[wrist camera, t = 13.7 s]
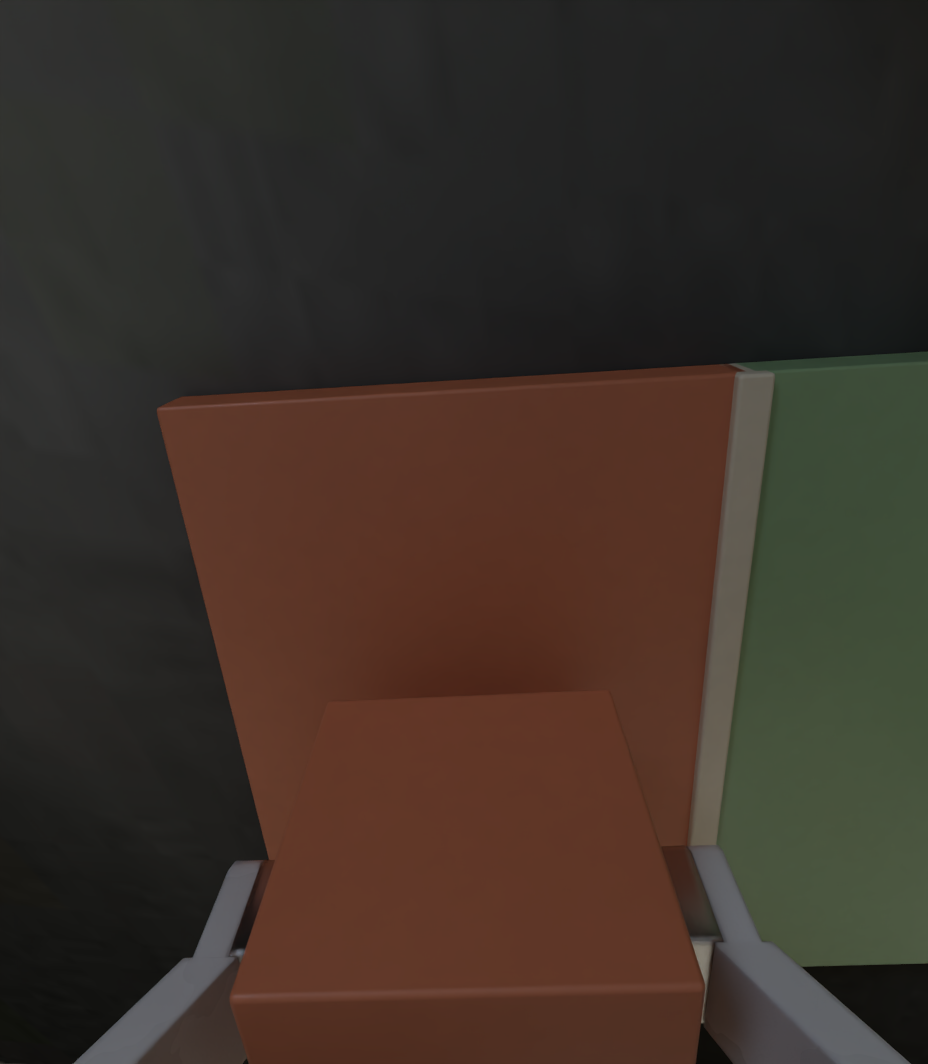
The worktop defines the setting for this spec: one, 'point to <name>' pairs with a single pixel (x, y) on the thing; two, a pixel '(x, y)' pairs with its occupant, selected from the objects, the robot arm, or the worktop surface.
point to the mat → (607, 597)
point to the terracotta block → (470, 895)
